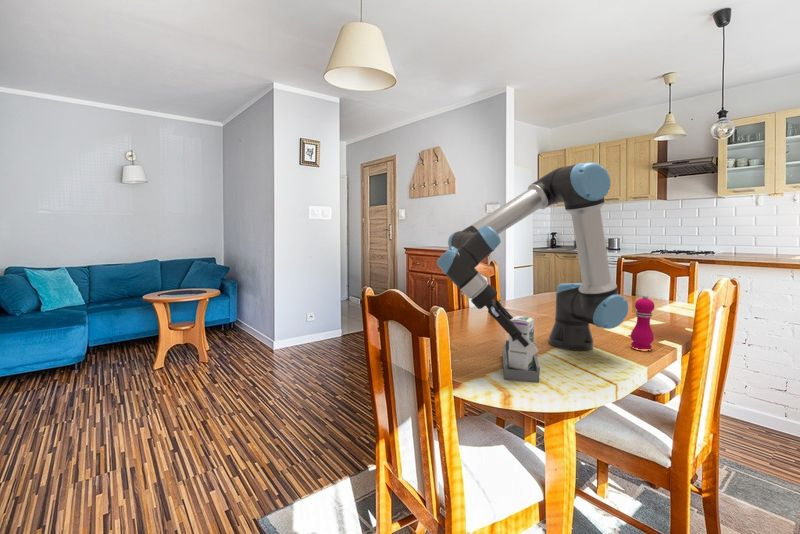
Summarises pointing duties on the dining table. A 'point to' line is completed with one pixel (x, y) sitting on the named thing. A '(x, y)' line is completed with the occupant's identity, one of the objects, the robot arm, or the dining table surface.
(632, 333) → the pepper mill
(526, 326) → the syrup box
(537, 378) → the grey card holder
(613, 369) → the dining table surface
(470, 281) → the robot arm
